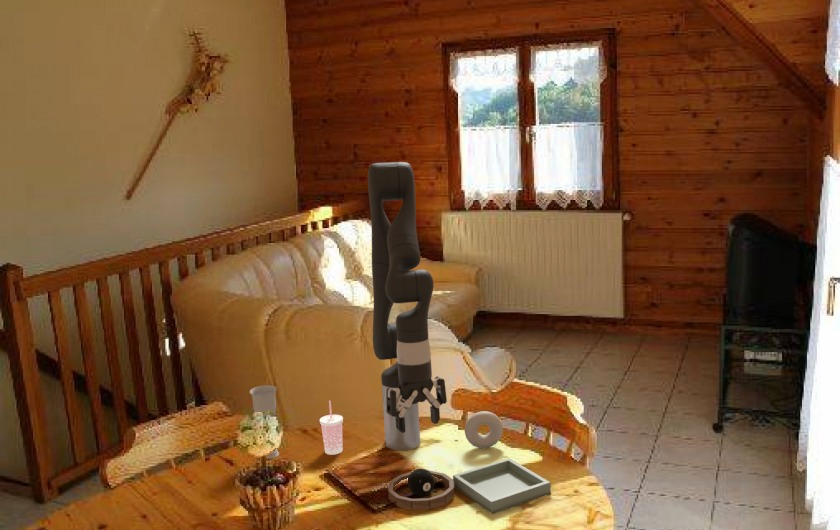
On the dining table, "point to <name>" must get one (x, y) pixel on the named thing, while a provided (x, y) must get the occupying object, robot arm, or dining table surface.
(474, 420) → the donut
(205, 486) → the dining table surface
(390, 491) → the walnut ring
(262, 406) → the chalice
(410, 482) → the billiard ball
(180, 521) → the dining table surface
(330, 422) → the beverage cup
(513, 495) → the tray
